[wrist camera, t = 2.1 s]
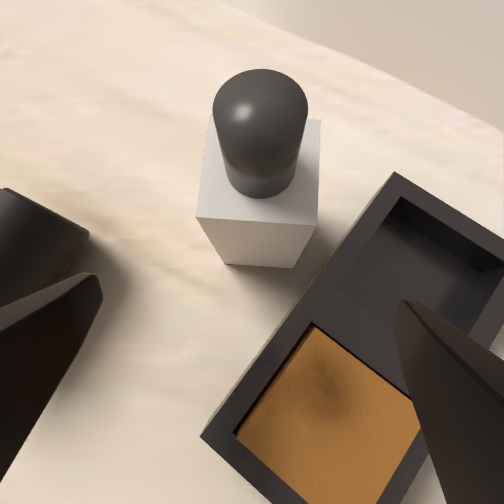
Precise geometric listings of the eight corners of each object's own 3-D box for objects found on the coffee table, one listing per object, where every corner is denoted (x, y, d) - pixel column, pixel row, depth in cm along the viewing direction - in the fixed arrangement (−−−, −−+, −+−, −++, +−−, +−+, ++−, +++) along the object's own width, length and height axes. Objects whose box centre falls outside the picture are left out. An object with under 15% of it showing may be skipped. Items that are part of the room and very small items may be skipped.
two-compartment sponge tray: (499, 270, 21) (555, 257, 17) (339, 537, 17) (362, 599, 13) (376, 191, 22) (401, 163, 18) (209, 419, 19) (195, 444, 15)
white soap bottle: (292, 268, 21) (338, 186, 8) (224, 263, 21) (169, 175, 9) (296, 204, 22) (341, 47, 10) (231, 200, 23) (192, 41, 10)
